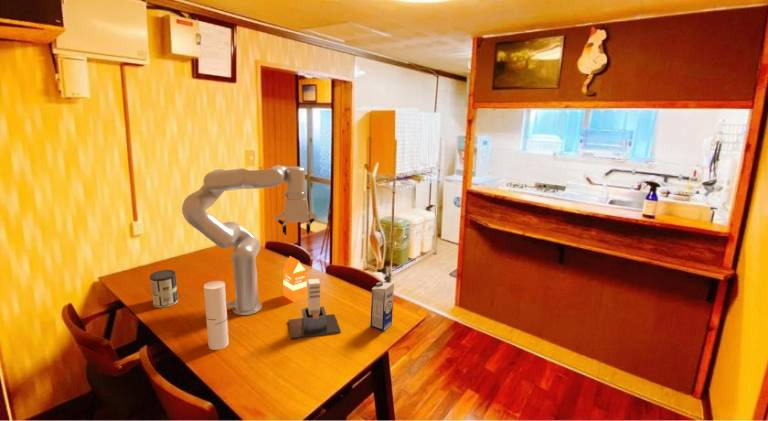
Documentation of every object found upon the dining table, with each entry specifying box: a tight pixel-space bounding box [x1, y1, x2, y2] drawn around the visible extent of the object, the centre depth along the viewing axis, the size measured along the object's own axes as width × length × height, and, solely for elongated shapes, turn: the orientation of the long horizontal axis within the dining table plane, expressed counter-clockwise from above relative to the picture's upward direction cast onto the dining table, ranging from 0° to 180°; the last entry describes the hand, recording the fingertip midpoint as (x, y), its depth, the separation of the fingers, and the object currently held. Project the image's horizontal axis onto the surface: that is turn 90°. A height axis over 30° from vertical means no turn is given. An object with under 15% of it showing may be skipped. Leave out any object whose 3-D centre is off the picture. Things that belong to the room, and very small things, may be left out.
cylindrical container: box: [203, 280, 230, 351], centre depth 143 cm, size 7×7×25 cm
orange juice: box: [282, 255, 308, 303], centre depth 184 cm, size 8×9×20 cm
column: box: [307, 278, 321, 315], centre depth 156 cm, size 4×5×14 cm
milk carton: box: [369, 281, 395, 333], centre depth 161 cm, size 7×7×20 cm
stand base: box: [288, 306, 342, 341], centre depth 159 cm, size 20×14×9 cm
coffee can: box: [149, 269, 179, 309], centre depth 173 cm, size 10×10×14 cm
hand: (296, 233), depth 166 cm, fingers open, 9 cm apart
